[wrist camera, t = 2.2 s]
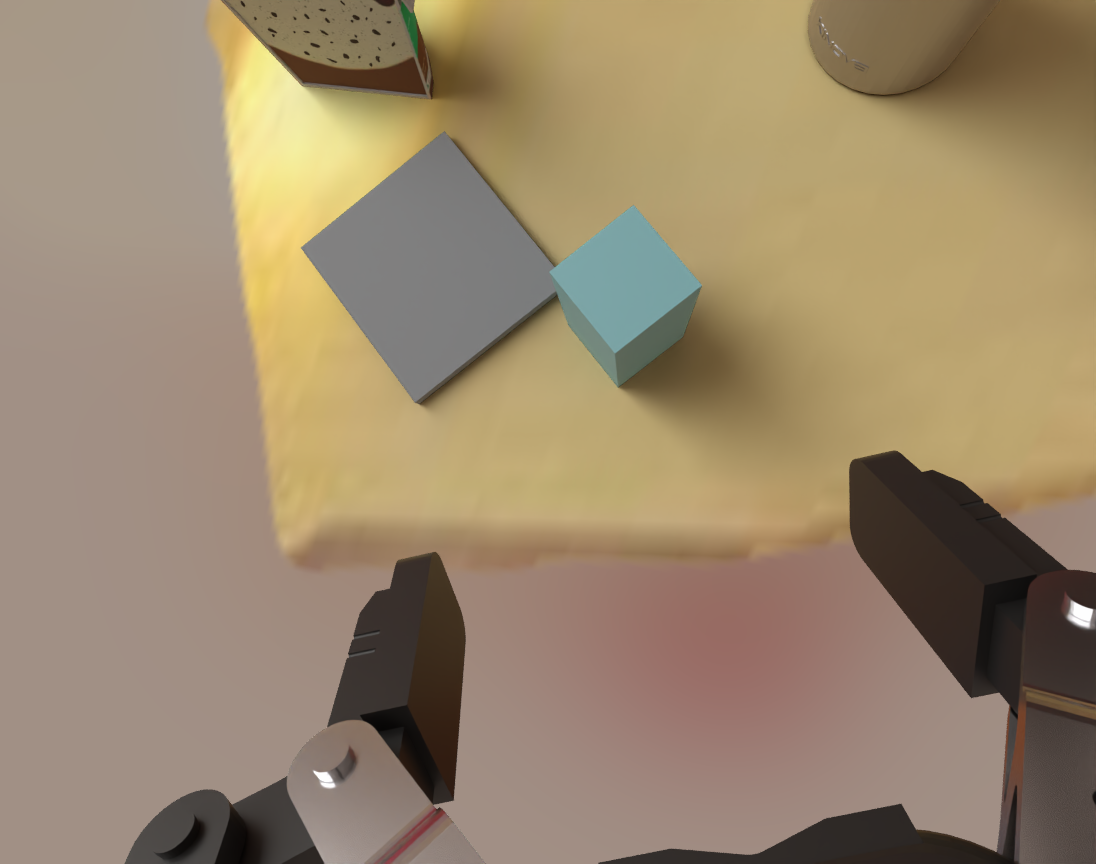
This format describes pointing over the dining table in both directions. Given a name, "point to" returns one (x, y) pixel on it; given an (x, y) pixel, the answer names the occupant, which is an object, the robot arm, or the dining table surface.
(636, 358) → the teal block
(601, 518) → the dining table surface
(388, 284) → the grey mat
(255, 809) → the robot arm
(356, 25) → the food container
